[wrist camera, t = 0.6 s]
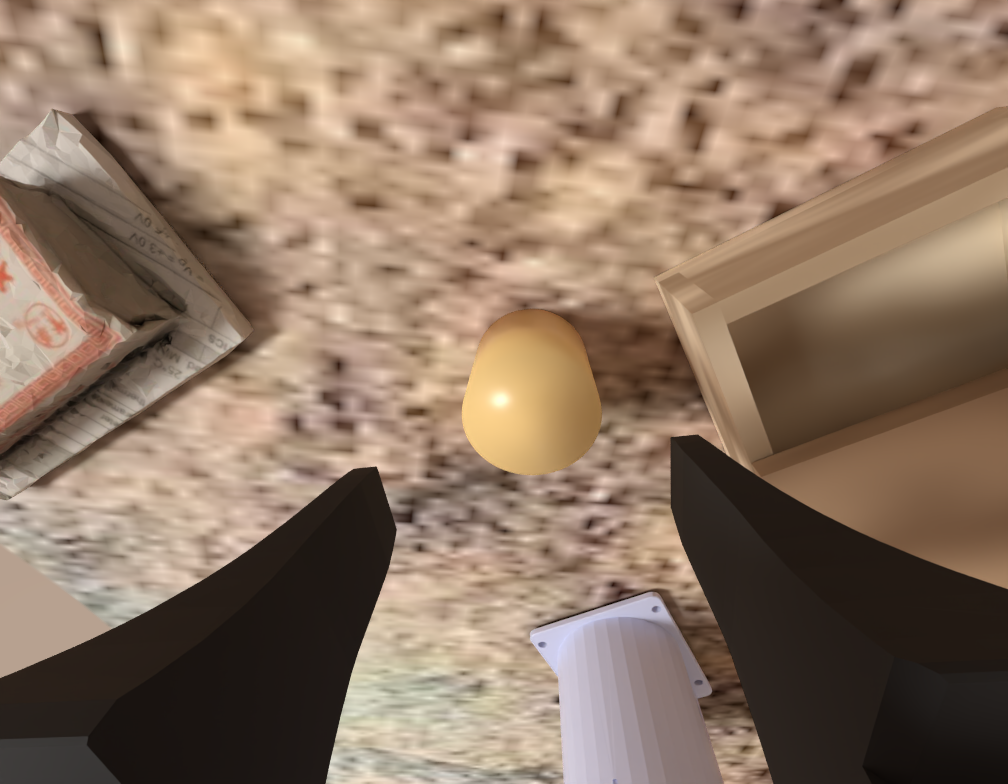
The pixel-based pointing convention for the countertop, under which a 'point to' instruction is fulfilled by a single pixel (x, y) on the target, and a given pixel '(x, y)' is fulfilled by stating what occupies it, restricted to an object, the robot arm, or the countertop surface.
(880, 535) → the lid
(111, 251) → the packaged product
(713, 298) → the wooden box
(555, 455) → the cream bullet-shaped knob
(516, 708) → the countertop surface
